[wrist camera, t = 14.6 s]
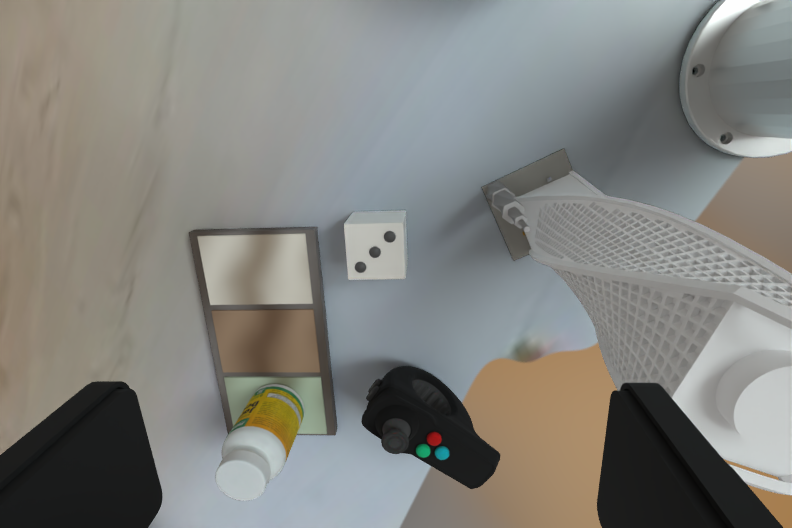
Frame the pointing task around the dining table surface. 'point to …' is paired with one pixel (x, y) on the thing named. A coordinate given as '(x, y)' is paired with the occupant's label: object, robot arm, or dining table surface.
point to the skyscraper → (668, 307)
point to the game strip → (267, 318)
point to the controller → (428, 425)
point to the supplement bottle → (259, 442)
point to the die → (376, 245)
